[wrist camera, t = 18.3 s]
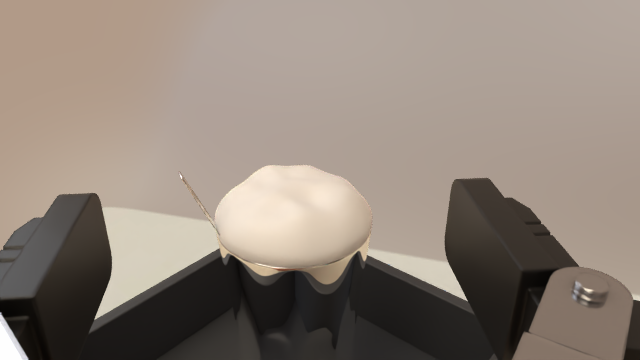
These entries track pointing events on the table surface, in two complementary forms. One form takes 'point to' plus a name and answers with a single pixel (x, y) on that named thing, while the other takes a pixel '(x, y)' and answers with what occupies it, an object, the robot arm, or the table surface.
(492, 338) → the robot arm
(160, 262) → the table surface
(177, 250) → the table surface
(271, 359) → the milkshake
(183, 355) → the grey bin
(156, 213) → the table surface
